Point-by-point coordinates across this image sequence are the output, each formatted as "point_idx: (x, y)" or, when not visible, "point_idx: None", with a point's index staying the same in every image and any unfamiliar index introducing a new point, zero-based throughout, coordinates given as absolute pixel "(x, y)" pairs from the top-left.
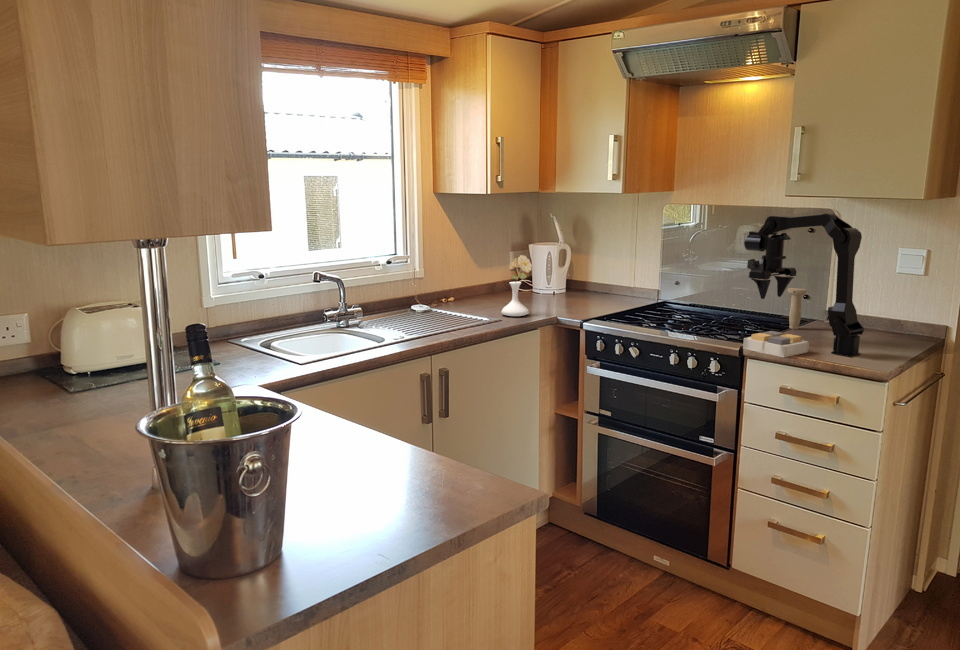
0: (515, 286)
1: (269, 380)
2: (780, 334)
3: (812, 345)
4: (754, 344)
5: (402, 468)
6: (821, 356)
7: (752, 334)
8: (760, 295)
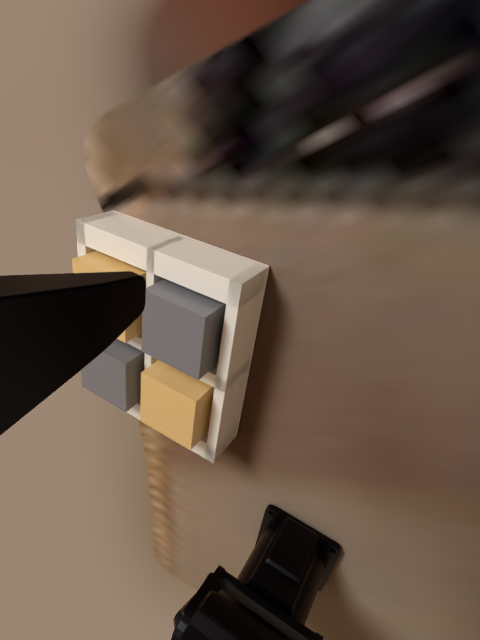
0: None
1: None
2: (179, 366)
3: (385, 455)
4: None
5: None
6: (210, 469)
7: (72, 263)
8: (92, 277)
